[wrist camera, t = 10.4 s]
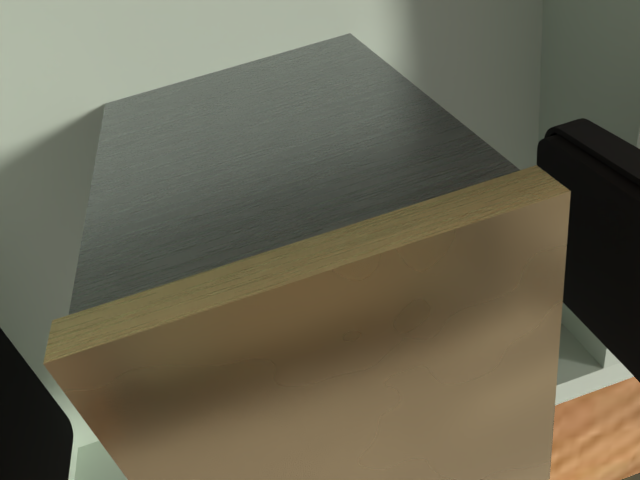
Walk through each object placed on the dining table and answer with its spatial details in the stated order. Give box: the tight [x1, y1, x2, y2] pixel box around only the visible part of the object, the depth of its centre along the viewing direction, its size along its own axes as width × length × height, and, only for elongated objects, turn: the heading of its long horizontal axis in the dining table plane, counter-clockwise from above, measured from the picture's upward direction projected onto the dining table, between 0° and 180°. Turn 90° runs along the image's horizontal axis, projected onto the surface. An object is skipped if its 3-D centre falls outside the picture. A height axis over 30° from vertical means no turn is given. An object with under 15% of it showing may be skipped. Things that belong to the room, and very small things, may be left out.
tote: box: [0, 0, 640, 480], centre depth 12 cm, size 24×14×4 cm, turn 103°
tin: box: [43, 33, 571, 480], centre depth 10 cm, size 5×5×7 cm
